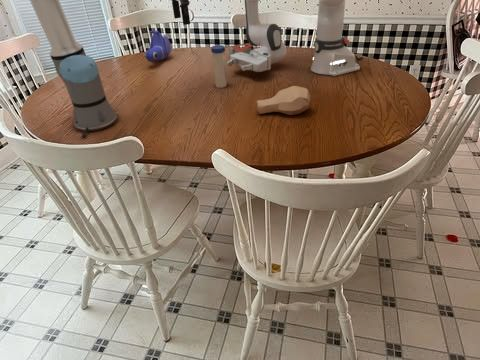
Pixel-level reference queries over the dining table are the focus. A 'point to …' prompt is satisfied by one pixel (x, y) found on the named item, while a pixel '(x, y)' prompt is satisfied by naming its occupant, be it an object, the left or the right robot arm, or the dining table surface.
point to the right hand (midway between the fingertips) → (234, 66)
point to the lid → (217, 49)
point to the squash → (286, 101)
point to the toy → (158, 48)
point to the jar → (219, 69)
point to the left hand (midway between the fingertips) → (182, 21)
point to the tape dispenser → (240, 49)
